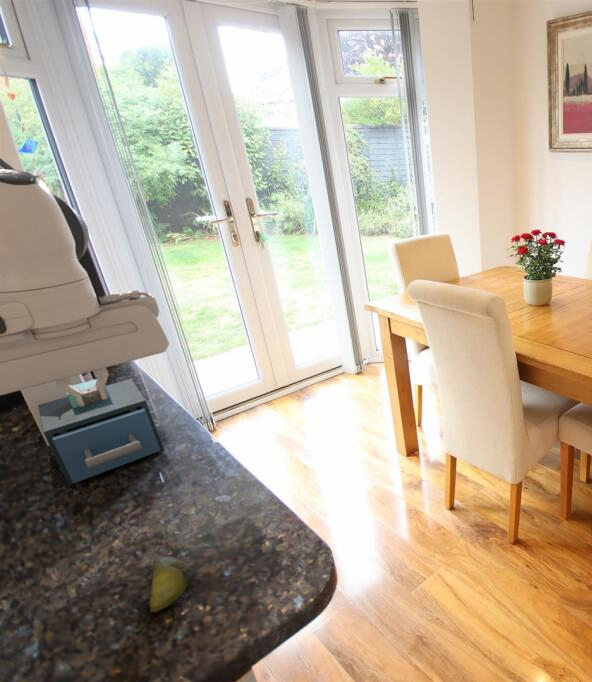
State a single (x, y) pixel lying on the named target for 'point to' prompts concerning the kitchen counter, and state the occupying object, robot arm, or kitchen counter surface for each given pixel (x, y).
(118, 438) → the drawer
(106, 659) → the kitchen counter surface
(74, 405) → the mint green eraser
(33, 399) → the milk carton
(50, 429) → the cabinet
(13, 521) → the kitchen counter surface
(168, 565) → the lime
